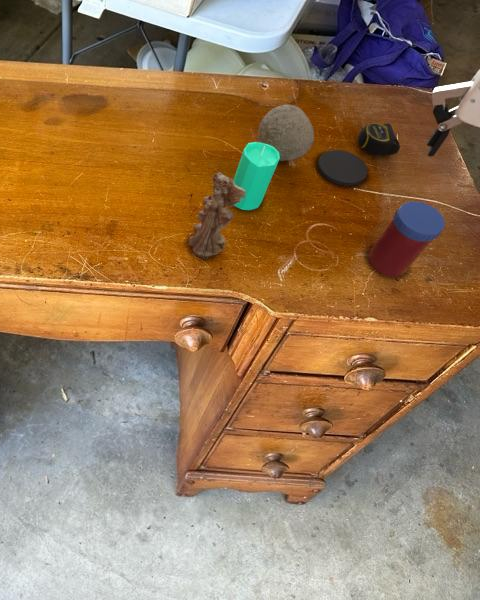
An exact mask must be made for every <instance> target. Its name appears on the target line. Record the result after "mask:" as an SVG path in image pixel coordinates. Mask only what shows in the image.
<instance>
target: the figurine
mask: <svg viewBox="0 0 480 600" xmlns="http://www.w3.org/2000/svg"><path fill="white" fill-rule="evenodd" d="M233 180H234V178H230V176H226V175H224V174H223V173H221V172H220V171H219V172H217V173H214V174H213V176H212V180H211V182H212V184H213V190H212V192H213V193H211V194H210V195H208V196H204V197H203V201H202V205H203V209H201V210H199V211H198V212H197V214H198V216H197V220H198V221H199V222H197V223H195V224H194V225H193V231H194V235H191V236H189V237H188V243H189V244H188V245H189V246H191V250H192V252H193V253H194V255H196V256H197V257H199V258H202V259H208V258H212V257H213V256H216V255H217V254H219V253H223V249H224V248H225V247H226V242H225V241H226V238H225V236H224V235H222V233H221V232H220V231H222V230H224V229H225V228H226V227H227V226H228V224H229V223H230V222H231V221H233V220H234V213H233V212H232V211H231V210H230V209H232V208H233V207H235V206H234V205H235V204H236V203H239V202H240V201H241V198H244V197H245V196H246V193H245V192H246V191H245V190H244V189H243V188H240V187H238V186H237V185H235V182H233ZM227 207H228V208H227Z"/></svg>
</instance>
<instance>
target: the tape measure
mask: <svg viewBox="0 0 480 600" xmlns="http://www.w3.org/2000/svg"><path fill="white" fill-rule="evenodd" d="M357 143H358V146H359V147H360V148H361V150H362V151H363V152H365V153H367V154H369V155H372V156H377V157H380V156H392V155H396V154H397V153H398V152H399V150H400V149H401V145H400V142H399V140H398V138H397V136H396V134H395V132H394V129H393V126H392V125H391V123H389V122H388V123H387V122H386V123H385V122H384V123H381V122H370V123H368V124H365V126H363V127H362V128H361V129H360V131H359V133H358V135H357Z"/></svg>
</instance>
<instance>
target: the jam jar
mask: <svg viewBox="0 0 480 600" xmlns="http://www.w3.org/2000/svg"><path fill="white" fill-rule="evenodd" d="M432 241H433V240H431V241H427V242H426V241H424V242H423V241H416V240H413V239H410V238H408V237H406V236H405V235H403V234H402V233H401V232H400V231H399V230H398V229H397V228H396V226H395V224H394V218H392V220H391V221H390V223H389V224H388V226H387V227H386V228H385V230H384V231H383V232H382V234H381V235H380V237H379V238H378V240H377V241H376V242H375V244H374V245H373V246H372V248H371V249H370V251H369V252H368V255H367V256H368V261H369V264H370V266H371V267H372V268H373V269H374V270H375V271H377V272H378V273H380V274H382V275H384V276H387V277H401V276H403V275H404V274H406V272H407V271H408V270H409V269H410V267H411V266H412V265H413V264H414V263H415V262H416V260H417V259H418V258H419V257H420V256H421V255H422V253H423V252H424V251H425V250H426V248H427V247H428V246H429V245H430V244H431V243H432Z"/></svg>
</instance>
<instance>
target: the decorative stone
mask: <svg viewBox="0 0 480 600" xmlns="http://www.w3.org/2000/svg"><path fill="white" fill-rule="evenodd" d="M257 142H259V143H265V144H268V145H270V146H273V147H274V148H275V149H276V150H277V151H278V152H279V156H280V159H279V162H285V161H293V160H296V159H298V158H300V157H302V156H304V155H305V154H307V153H308V152H309V151H310V149H311V148H312V146H313V144H314V143H315V131H314V127H313V124H312V122H311V120H310V118H309V117H308V115H307V114H306V113H305V112H304V110H302V109H301V108H300V107H299V106H296V105H293V104H289V103H288V104H286V103H285V104H281V105H279V106H275V107H273V108H272V109H270V110H269V111H267V113H266V114H265V116H263V118H262V119H261V120H260V123H259V126H258V131H257Z"/></svg>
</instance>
